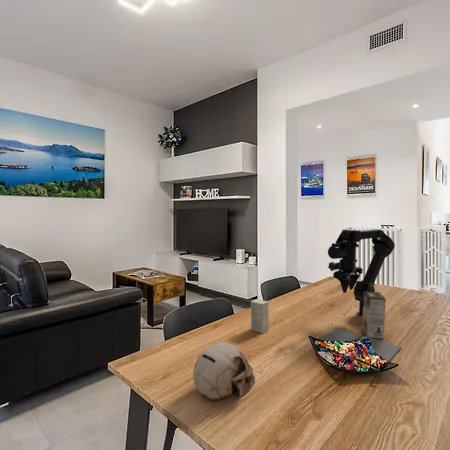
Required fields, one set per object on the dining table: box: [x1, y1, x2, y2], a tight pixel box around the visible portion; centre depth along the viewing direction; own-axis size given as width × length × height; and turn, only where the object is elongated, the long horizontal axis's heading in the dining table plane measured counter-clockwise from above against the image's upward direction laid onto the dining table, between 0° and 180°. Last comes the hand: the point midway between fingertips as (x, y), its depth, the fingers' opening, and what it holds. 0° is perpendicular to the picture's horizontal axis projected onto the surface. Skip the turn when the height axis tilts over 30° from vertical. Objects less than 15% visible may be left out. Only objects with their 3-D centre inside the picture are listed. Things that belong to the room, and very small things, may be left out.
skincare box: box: [250, 298, 269, 334], centre depth 123 cm, size 6×4×12 cm
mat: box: [319, 327, 402, 363], centre depth 110 cm, size 20×24×1 cm
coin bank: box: [192, 342, 256, 401], centre depth 83 cm, size 16×17×13 cm
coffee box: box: [361, 291, 387, 339], centre depth 121 cm, size 9×6×16 cm
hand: (347, 291), depth 136 cm, fingers open, 7 cm apart
